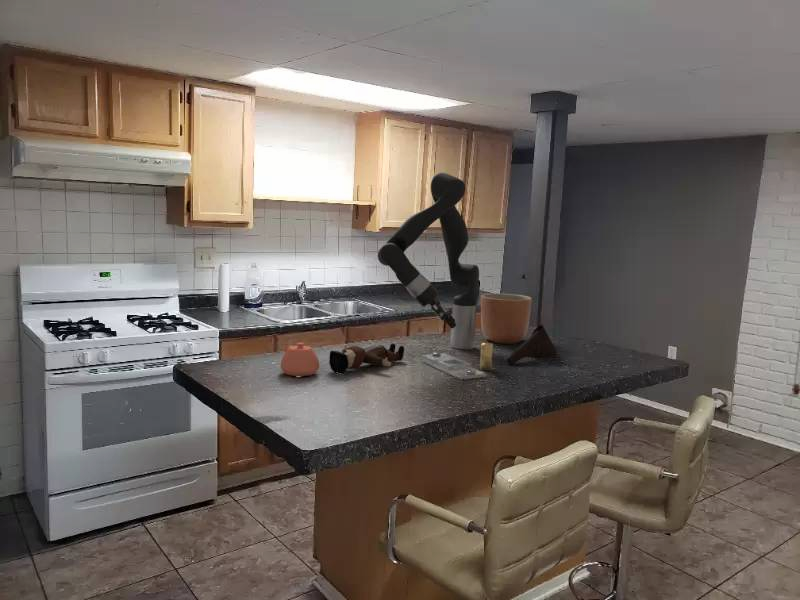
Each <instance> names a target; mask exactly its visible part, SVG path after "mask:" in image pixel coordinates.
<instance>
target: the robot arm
mask: <svg viewBox="0 0 800 600" xmlns="http://www.w3.org/2000/svg"><path fill="white" fill-rule="evenodd" d="M430 193H431V197H432V200H433V204H432V205H430V206H428V207H426V208H424V209H422V210H420V211H418V212H416V213H413V214H412V215H410V216H409V217H408V218H407V219H406V220H405V221H404V222H403V224H402V225H400V226H399V228H398V229H396V231H395V233H394V235H392V236H391V237H390V239H388V240H387V242H385V244H383V245H382V247H381V248H380V249H379V250H378V252H377V258H378V259H377V260H378V261H379V263H380V264H381V265H383V266H386V267H389V268H390V269H391V271H392V272H394V274H395V277H396V278H397V280H398V281H399V282H400V284H402V285H403V286H404V288H406V291H408V293H409V294H410V295H411V296H412V297H413V298H414V300H416V301H417V303H418V304H419V305H420V306H421V307H423V308H425V307H427V306H428V305H429V306H430V310H431V311H432V312H433V313H435V314H436V315H437V317H438V318H440V320H441V321H443V322H444V323H446V324H447V326H448V327H449V328H450V336H449V337H450V341H449V343H450V344H449V345H450V347H451V348H454V349H456V350H457V349H458V350H473V349H475V339H476V320H477V318H476V317H477V300H478V291H479V290H478V289H479V282H480V281H479V280H480V269H479V267H478V265H477V264H473V263H471V264H470V263H469V264H468V263H460V261H459V259H460V257H461V255H462V254H463V253H464V251H465V249H466V248H467V246H468V243H469V238H470V237H469V234H468V228H467V224H466V221H465V220H464V218H463V217H462V215H461V213H460V212H459V210H458V209H457V207H456V205H458V203H459V202H460V201H461V200H462V199H463V197H464V196H465V193H466V184H465V182H464V181H463V180H462V179H461V178H458V177H455V176H453V175H451V174H450V173H449V174H448V173H447V172H438V173H436V174H434V176H433V177H432V179H431V183H430ZM437 220H439V223H440V228H441V233H442V234H441V235H442V238H443V243H444V246H445V250H446V255H447V260H448V262H447V263H448V271H449V278H450V283H451V284H452V286H454V287H457V288H466V289H467V291H466V292H464V293H463V294H459V295H455V296H454V297H453V300H452V314H450V312H449V311H448V308H447V307H446V306H445V305H444V304H443V302H442V301H441V300H440V299H438V298H437V297H438V295H439V290H437V288H436V287H435V286H434V285H433V284H432V283H431V282H430V281H429V279H427V278H426V277H425V276H424V275H423V274H422V273H421V272H420V271H419V270H418V269H417V267H415V266H414V264H412V263H411V261H410V260H409V258H408V256H407V255H406V254H405V251H407V249H409V247H411V246H412V245H413V244H414V243H415V242H416V241H417V240H418V239H419V237H421V235H422V234H423V233H424V232H425V231H426V230H427V229H428V228H429V227H430V226H431V225H432V224H433V223H435V222H436V221H437Z"/></svg>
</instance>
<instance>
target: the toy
mask: <svg viewBox="0 0 800 600" xmlns="http://www.w3.org/2000/svg"><path fill="white" fill-rule="evenodd" d="M404 353H405V346H403V345H399V346H398V349H397V351H396V344H395V343H391V344H390V345H389V347H388V349H387V348H386V346H384V345H381V344H378V345H372V346H368V347H366V348H363V347H361V346H357V345H351V346H348V347H347V345H344V348H341V351H338V350H330V352H329V360H328V361H329V362H328V363H329V367H330V369H331V370H332V372H333V371H334V372H338V373H341V374H340V375H343V374H345V373H346V372H347V371H348V370H354V369H358V368H359V367H361V366H362V364H368V365H374V366H381V367H391V366H392V362H400V361H402V360H403V358H404ZM334 372H333V373H334ZM338 373H337V374H338Z"/></svg>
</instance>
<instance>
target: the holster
mask: <svg viewBox="0 0 800 600" xmlns="http://www.w3.org/2000/svg"><path fill="white" fill-rule="evenodd" d="M557 354H558V352H557V349H556V347H555V345H554V344H553V342H552V340H551V337H550V336H549V335H548V332H547V330H546V328H545V326H544V325H543V324H540V325H538V326H537V327H536V328H535V329H534V330H533V331H532V333H531V336H529V338H527V339H526V340H525V341H524V342H522V344H521V345H520V346H518V347H517V348H516V349H515V350H514V351H513V352H512V353H511V354H510V355H509V356H508V357H507V359H506V360H507V361H506V362H507V363H508V365H510V364H511V365H510V366H512V365H514V364H515V363H516V362H518V361H520V360H522V359H525V358H532V359H536V358H541V359H542V358H546V357H547V358H551V357H550V356H554V357H555V356H556V355H557Z"/></svg>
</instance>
